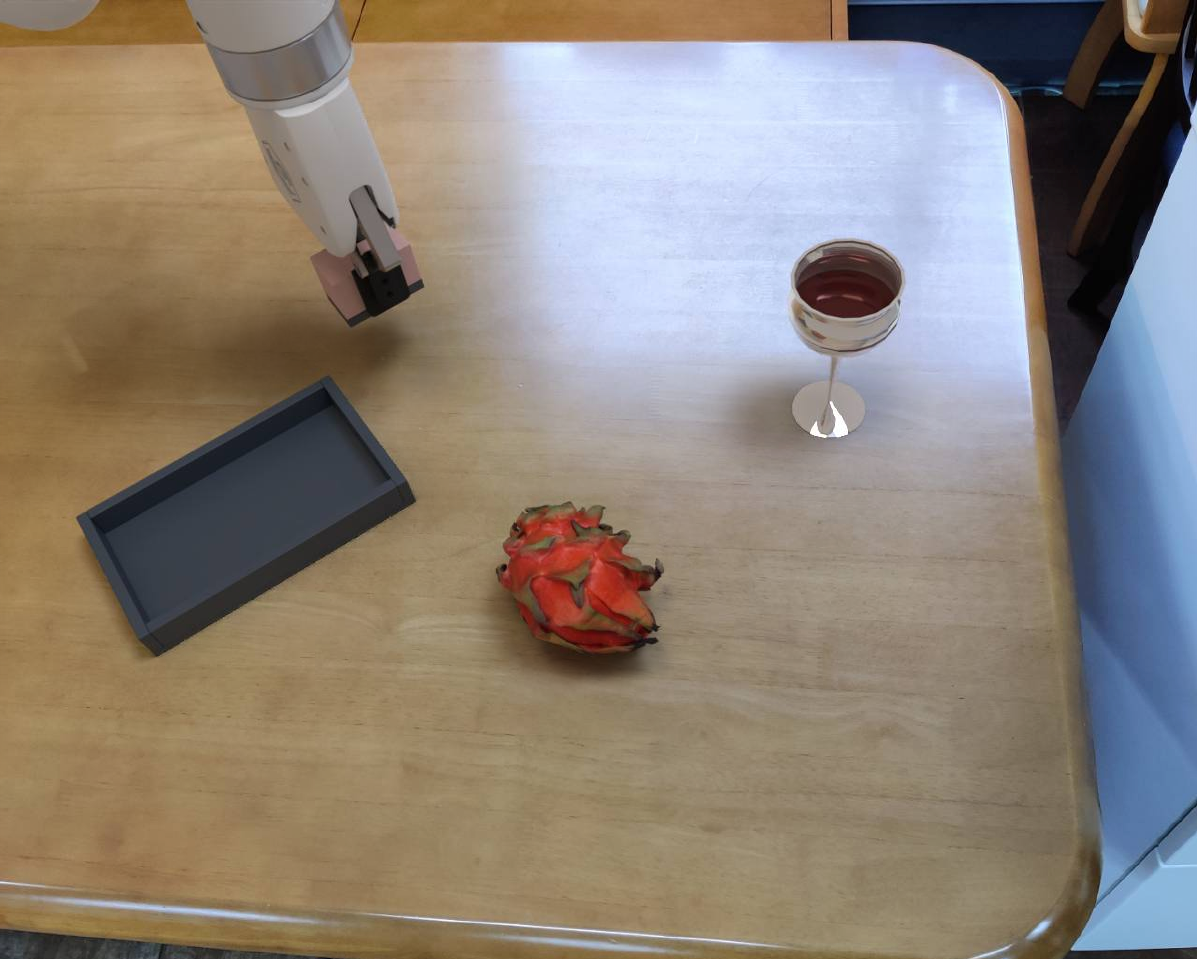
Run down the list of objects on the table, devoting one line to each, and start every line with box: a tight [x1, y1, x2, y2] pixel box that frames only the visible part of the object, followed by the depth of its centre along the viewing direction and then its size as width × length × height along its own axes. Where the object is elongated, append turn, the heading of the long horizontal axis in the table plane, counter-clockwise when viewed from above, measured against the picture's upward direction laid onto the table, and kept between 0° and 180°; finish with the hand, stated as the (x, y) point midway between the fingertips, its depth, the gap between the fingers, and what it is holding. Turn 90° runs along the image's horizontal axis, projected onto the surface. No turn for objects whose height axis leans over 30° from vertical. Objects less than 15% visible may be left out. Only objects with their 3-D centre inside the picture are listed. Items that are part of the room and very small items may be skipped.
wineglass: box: [787, 237, 907, 438], centre depth 67 cm, size 7×7×12 cm
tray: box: [75, 374, 417, 657], centre depth 71 cm, size 20×12×2 cm, turn 124°
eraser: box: [309, 221, 425, 329], centre depth 72 cm, size 6×4×4 cm, turn 124°
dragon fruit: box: [495, 501, 665, 658], centre depth 64 cm, size 8×8×12 cm
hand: (374, 286), depth 74 cm, fingers closed on eraser, 3 cm apart
